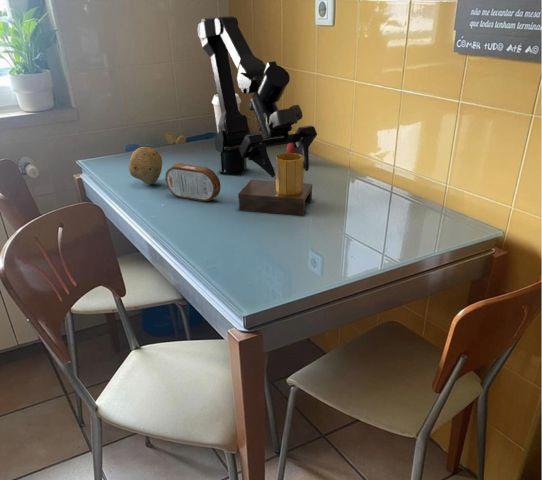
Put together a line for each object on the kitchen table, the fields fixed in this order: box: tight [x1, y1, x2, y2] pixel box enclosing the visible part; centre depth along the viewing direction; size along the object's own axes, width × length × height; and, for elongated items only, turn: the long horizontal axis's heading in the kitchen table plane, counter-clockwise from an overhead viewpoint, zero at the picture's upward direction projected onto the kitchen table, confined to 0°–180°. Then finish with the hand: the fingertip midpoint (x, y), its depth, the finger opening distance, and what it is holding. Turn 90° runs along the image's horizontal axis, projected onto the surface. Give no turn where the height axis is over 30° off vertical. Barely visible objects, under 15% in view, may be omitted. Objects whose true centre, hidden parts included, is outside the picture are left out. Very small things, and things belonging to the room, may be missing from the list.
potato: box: [128, 146, 163, 185], centre depth 147 cm, size 9×9×10 cm
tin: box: [165, 162, 221, 202], centre depth 137 cm, size 15×3×8 cm, turn 65°
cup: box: [275, 152, 305, 195], centre depth 129 cm, size 6×7×8 cm
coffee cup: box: [211, 92, 242, 133], centre depth 179 cm, size 10×10×15 cm
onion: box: [285, 143, 297, 153], centre depth 162 cm, size 6×6×8 cm
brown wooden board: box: [237, 179, 313, 216], centre depth 134 cm, size 16×11×4 cm
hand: (291, 173), depth 129 cm, fingers open, 9 cm apart
